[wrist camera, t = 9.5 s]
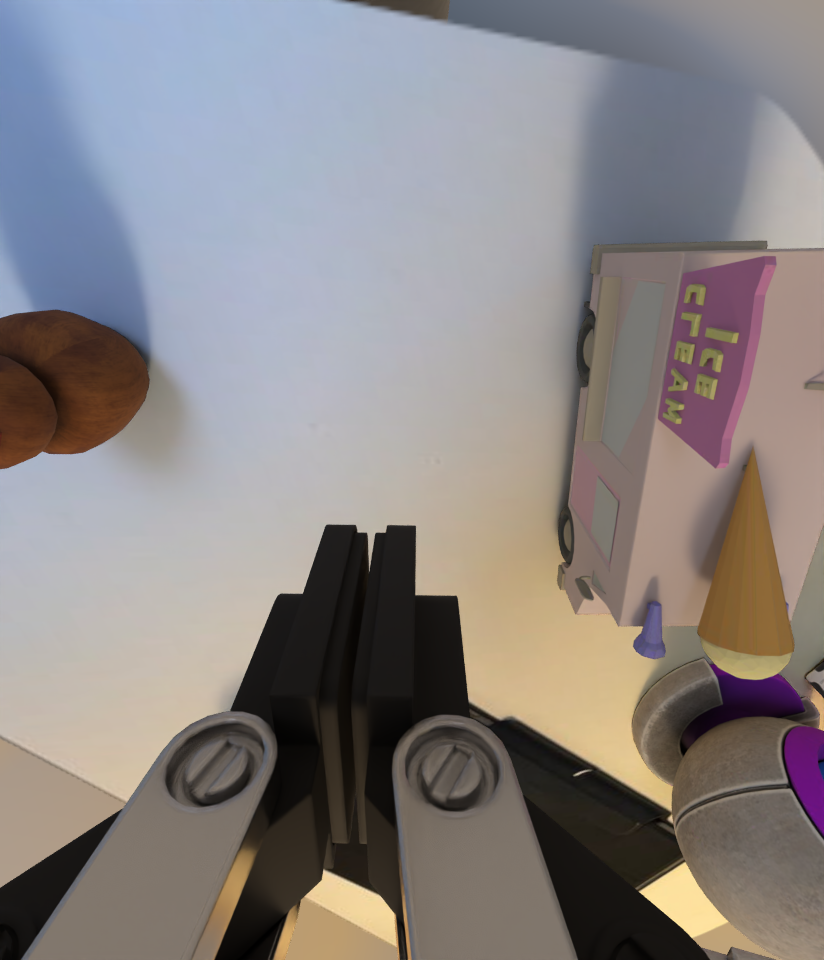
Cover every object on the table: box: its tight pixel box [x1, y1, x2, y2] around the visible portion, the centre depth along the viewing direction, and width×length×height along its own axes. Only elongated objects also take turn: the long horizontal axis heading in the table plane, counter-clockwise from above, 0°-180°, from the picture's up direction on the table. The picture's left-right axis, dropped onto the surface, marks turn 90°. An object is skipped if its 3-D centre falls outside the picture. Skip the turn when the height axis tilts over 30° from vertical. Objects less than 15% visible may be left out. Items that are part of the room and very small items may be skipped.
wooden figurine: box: [0, 310, 150, 469], centre depth 23 cm, size 7×6×15 cm
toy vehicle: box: [557, 241, 824, 680], centre depth 23 cm, size 9×20×15 cm, turn 1°
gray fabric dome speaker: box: [632, 658, 824, 960], centre depth 33 cm, size 13×13×15 cm
